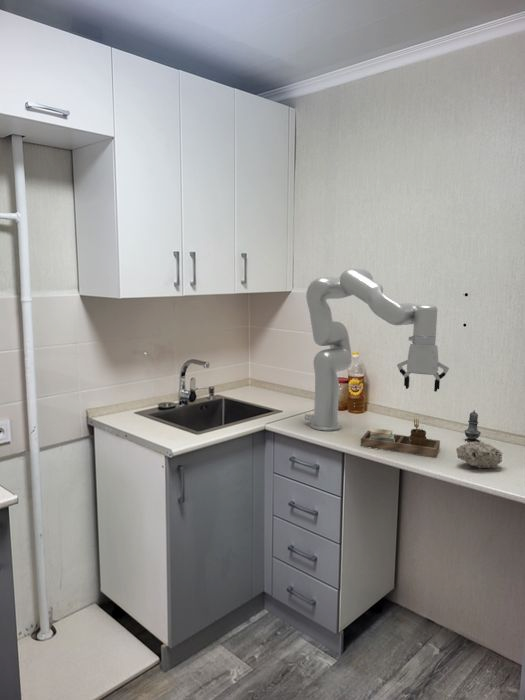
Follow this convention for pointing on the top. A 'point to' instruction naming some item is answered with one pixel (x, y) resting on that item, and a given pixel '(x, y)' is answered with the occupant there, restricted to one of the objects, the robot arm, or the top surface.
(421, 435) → the utensil holder
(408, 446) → the wooden divided tray
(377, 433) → the offcut stack
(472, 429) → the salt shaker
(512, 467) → the top surface
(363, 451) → the top surface
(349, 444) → the top surface
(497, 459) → the pumice stone
